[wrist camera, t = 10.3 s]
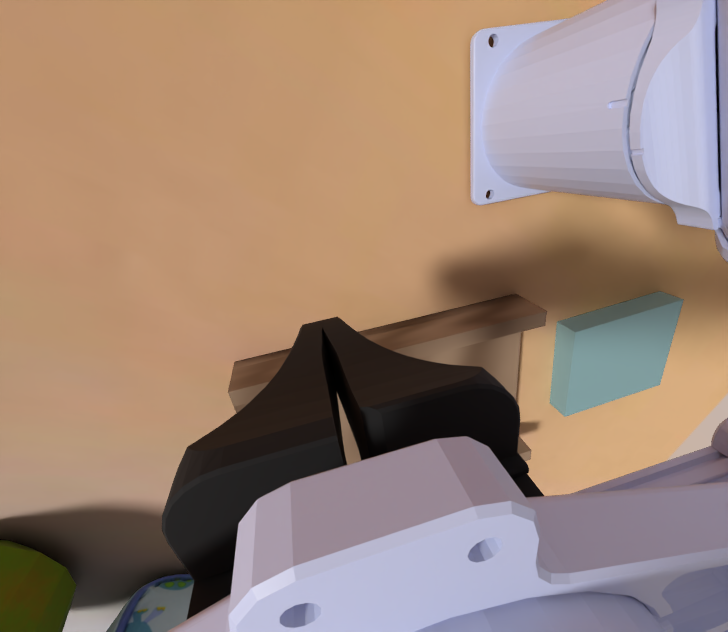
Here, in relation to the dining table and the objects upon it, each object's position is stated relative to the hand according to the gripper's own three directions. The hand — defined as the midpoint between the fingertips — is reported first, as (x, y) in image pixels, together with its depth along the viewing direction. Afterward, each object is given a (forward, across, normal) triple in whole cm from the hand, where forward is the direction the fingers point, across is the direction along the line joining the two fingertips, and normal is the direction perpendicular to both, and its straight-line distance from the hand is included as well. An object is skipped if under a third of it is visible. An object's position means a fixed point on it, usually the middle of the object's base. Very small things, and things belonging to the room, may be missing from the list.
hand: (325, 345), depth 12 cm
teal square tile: (+9, -22, +12) cm, 26 cm away
